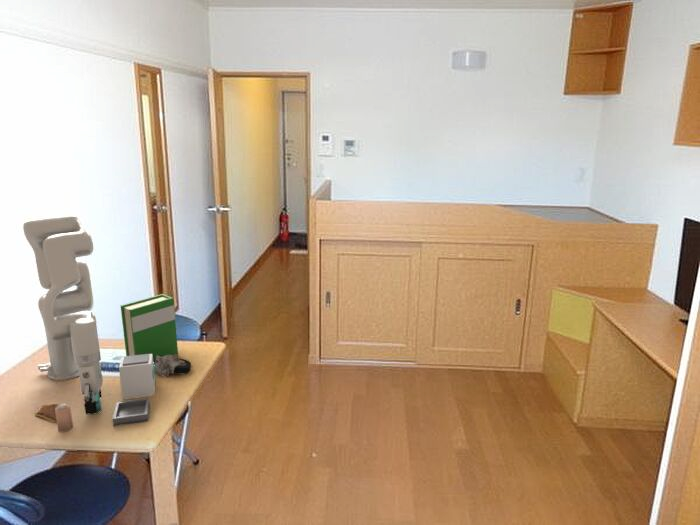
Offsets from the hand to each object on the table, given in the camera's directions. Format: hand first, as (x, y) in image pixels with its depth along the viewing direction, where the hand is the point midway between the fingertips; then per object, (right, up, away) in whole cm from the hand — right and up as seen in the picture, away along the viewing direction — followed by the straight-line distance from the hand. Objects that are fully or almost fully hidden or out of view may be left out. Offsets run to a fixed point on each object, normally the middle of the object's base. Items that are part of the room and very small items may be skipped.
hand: (93, 405), depth 170 cm
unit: (+10, +1, +13) cm, 16 cm away
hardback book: (+5, +8, +37) cm, 39 cm away
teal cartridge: (0, -2, +1) cm, 2 cm away
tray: (+13, -3, -1) cm, 13 cm away
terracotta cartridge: (-5, -5, -9) cm, 11 cm away
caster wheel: (+17, +5, +27) cm, 33 cm away
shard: (-12, -3, -1) cm, 13 cm away
